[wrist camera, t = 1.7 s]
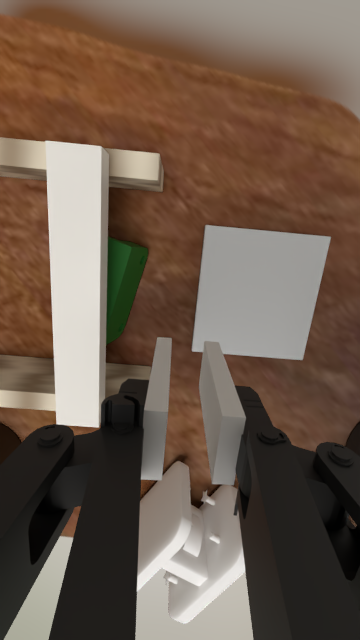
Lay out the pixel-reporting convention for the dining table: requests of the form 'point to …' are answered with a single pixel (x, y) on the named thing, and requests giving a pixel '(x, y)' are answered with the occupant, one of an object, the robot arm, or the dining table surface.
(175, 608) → the cable organizer
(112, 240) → the clamp
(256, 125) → the dining table surface
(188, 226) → the dining table surface
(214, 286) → the grey pad
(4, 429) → the olive oil
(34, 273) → the dining table surface
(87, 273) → the strap bar
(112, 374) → the stand
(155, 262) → the dining table surface
